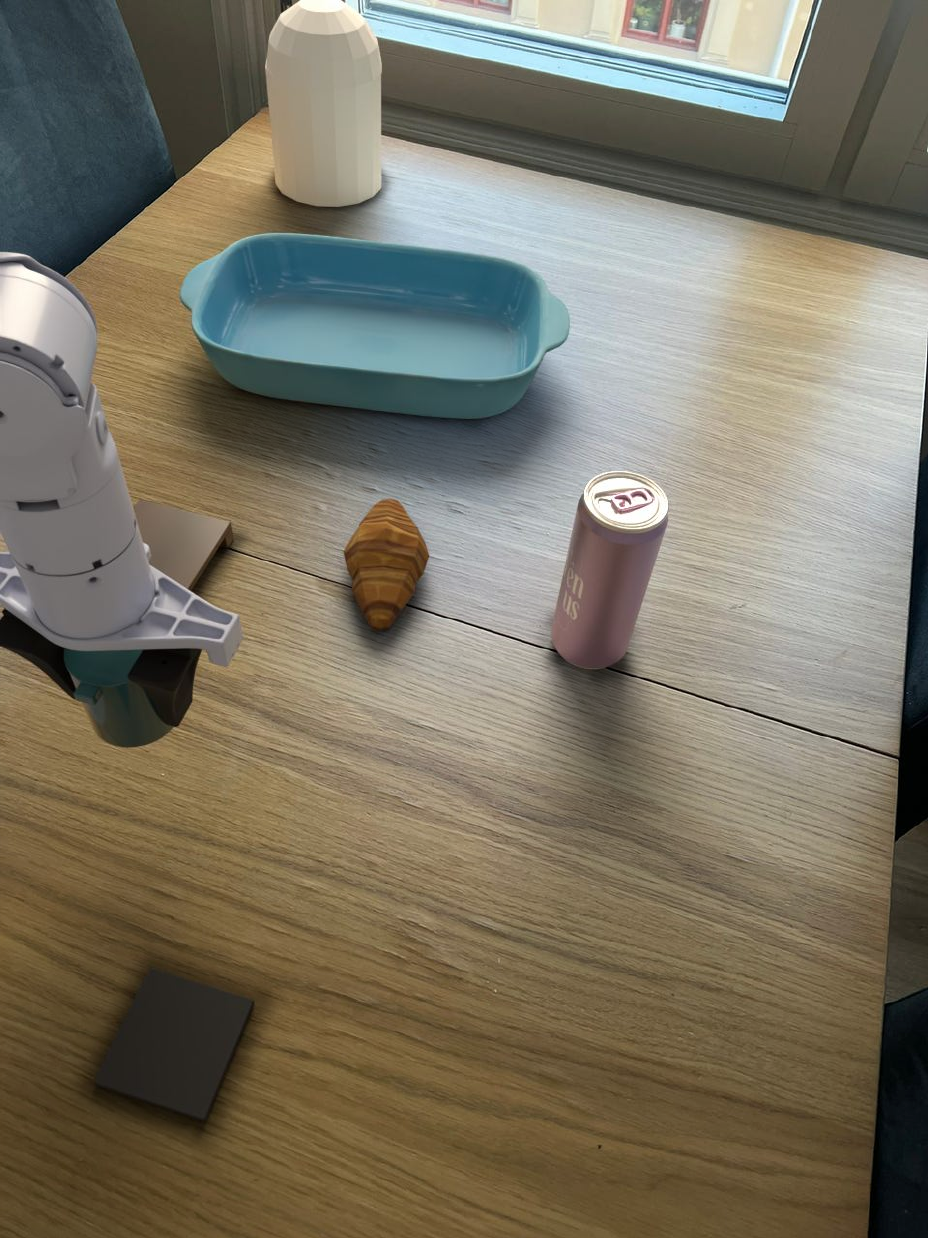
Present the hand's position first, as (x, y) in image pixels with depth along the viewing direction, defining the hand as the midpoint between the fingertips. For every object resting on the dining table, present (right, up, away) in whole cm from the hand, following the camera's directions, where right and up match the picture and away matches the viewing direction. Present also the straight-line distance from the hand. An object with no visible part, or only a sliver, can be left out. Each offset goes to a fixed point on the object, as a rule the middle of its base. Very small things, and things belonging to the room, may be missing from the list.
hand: (133, 699), depth 54 cm
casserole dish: (+10, +30, +40) cm, 51 cm away
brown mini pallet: (-5, +8, +20) cm, 22 cm away
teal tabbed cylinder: (0, -1, +1) cm, 1 cm away
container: (+2, +60, +64) cm, 87 cm away
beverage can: (+29, +3, +18) cm, 34 cm away
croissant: (+13, +8, +22) cm, 27 cm away
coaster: (+3, -19, -2) cm, 19 cm away
